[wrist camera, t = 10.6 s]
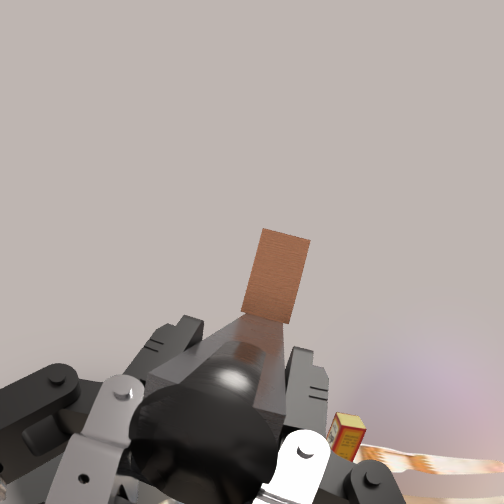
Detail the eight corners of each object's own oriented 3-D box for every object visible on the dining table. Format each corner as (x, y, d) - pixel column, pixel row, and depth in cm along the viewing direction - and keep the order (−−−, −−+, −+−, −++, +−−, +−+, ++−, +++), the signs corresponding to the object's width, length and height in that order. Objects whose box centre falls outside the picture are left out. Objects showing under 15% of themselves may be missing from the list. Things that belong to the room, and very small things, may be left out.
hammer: (235, 342, 29) (264, 234, 30) (278, 354, 28) (307, 245, 29) (110, 473, 6) (216, 73, 7) (266, 524, 6) (381, 108, 7)
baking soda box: (317, 459, 75) (336, 410, 76) (339, 462, 74) (359, 414, 75) (320, 476, 65) (342, 424, 67) (344, 479, 64) (367, 428, 66)
